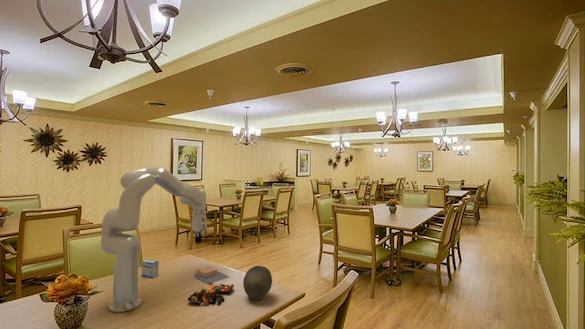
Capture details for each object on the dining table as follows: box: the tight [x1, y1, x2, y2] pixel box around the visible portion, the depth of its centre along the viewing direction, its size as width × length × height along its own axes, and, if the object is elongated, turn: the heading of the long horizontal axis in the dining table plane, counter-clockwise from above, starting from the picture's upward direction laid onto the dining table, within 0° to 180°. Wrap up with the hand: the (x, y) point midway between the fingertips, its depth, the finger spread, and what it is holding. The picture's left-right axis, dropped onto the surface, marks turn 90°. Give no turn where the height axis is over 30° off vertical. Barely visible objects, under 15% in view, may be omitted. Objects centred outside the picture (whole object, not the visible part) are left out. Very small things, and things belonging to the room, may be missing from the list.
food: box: [187, 282, 235, 307], centre depth 141 cm, size 22×19×4 cm
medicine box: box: [141, 259, 160, 279], centre depth 164 cm, size 8×4×9 cm, turn 73°
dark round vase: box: [242, 265, 273, 300], centre depth 139 cm, size 14×14×15 cm
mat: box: [193, 270, 230, 285], centre depth 165 cm, size 15×14×1 cm
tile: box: [196, 265, 218, 278], centre depth 168 cm, size 3×8×9 cm
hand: (198, 242), depth 175 cm, fingers closed
